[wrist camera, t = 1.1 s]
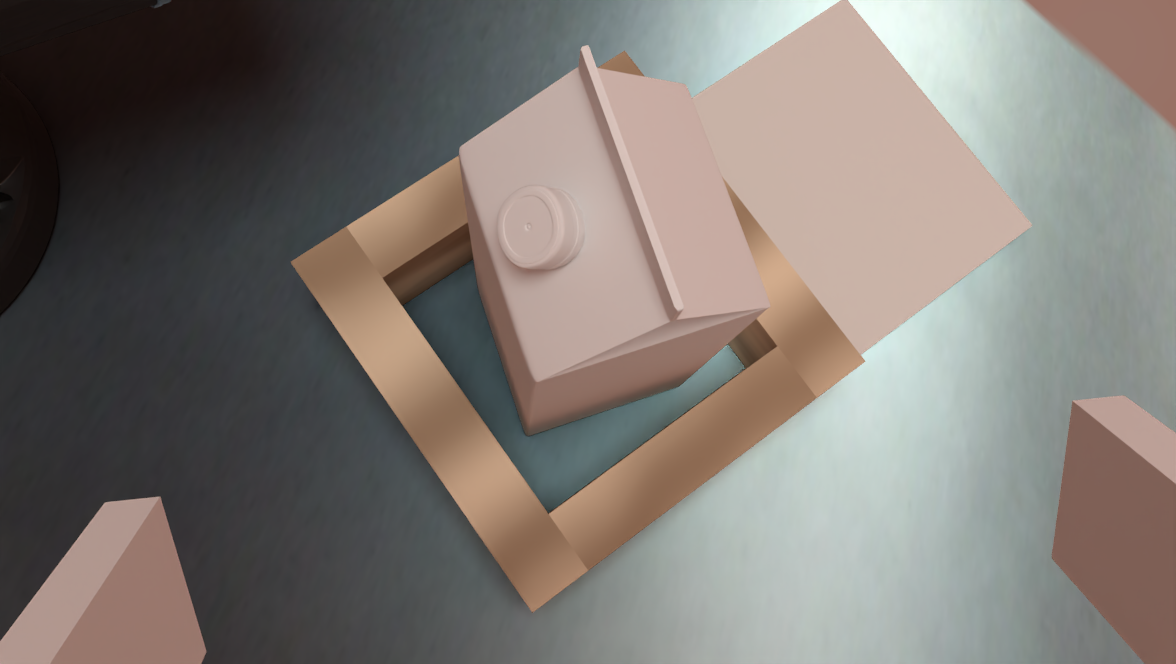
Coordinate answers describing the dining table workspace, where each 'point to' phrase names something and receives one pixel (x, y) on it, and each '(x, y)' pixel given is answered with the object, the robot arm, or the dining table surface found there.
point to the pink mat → (854, 174)
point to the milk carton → (604, 244)
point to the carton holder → (470, 451)
